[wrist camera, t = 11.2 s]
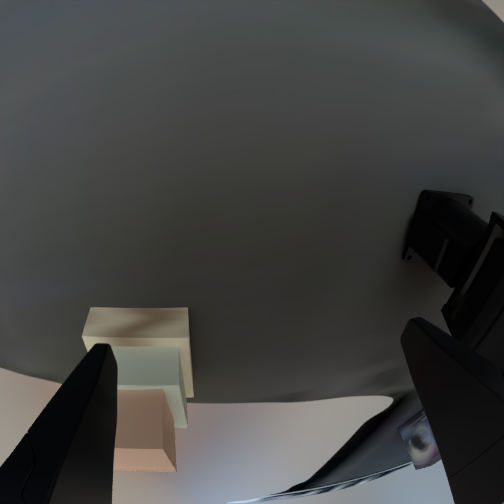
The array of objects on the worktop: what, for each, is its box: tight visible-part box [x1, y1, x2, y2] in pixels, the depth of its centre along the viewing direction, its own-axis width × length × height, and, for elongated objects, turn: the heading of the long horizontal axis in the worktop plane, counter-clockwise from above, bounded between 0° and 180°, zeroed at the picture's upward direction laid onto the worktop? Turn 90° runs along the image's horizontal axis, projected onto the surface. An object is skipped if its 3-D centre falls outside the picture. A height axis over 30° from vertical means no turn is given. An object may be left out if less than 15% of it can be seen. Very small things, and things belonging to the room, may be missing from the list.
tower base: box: [82, 307, 194, 397], centre depth 24 cm, size 8×8×4 cm
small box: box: [398, 409, 441, 470], centre depth 44 cm, size 11×6×10 cm, turn 151°
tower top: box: [111, 346, 188, 428], centre depth 21 cm, size 6×6×4 cm
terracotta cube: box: [113, 389, 177, 472], centre depth 18 cm, size 4×4×4 cm
